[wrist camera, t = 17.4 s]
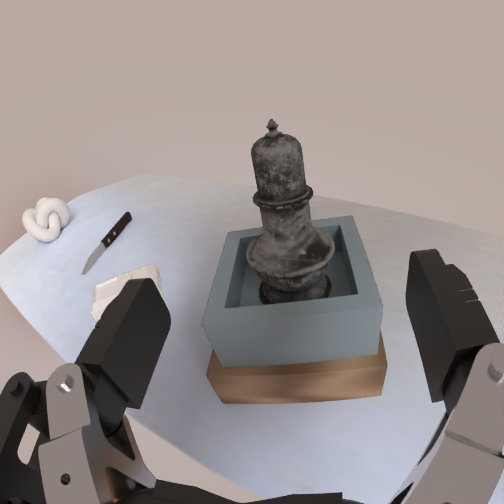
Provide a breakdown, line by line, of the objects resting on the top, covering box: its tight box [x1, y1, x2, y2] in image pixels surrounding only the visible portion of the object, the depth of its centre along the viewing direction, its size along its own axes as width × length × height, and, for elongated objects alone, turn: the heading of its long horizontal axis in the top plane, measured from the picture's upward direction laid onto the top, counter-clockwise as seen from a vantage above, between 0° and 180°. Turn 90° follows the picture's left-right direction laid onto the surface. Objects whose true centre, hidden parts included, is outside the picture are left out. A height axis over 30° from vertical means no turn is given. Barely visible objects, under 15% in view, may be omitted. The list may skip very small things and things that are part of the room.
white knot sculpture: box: [22, 197, 70, 242], centre depth 60 cm, size 11×12×9 cm
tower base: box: [206, 329, 387, 404], centre depth 25 cm, size 12×12×4 cm
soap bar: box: [91, 265, 163, 321], centre depth 36 cm, size 5×9×3 cm, turn 110°
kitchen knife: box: [82, 212, 132, 274], centre depth 50 cm, size 18×1×2 cm, turn 173°
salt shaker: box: [246, 119, 335, 305], centre depth 19 cm, size 6×6×12 cm
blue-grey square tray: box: [202, 216, 383, 368], centre depth 23 cm, size 10×10×4 cm
